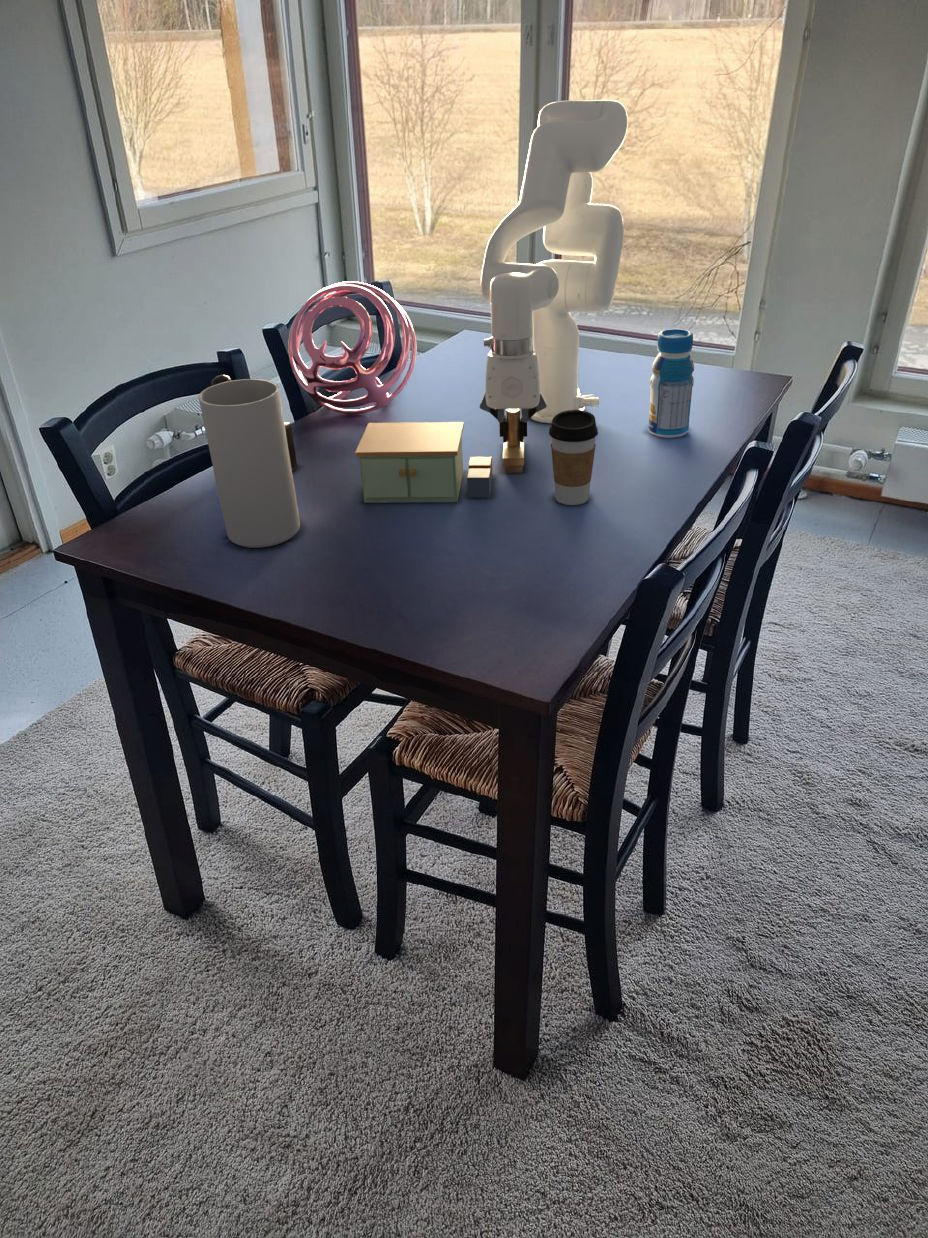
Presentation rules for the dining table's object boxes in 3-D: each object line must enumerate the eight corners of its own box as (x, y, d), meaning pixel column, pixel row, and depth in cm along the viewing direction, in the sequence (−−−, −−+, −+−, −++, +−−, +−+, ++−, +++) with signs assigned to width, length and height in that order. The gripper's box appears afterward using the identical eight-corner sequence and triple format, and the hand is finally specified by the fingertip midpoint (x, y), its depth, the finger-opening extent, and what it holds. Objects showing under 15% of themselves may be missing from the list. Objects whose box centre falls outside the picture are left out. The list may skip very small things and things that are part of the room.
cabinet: (466, 471, 179) (463, 421, 173) (459, 505, 166) (456, 453, 161) (373, 471, 181) (368, 422, 175) (360, 505, 168) (354, 454, 163)
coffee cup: (600, 490, 169) (603, 411, 161) (589, 510, 162) (592, 429, 154) (555, 485, 172) (555, 407, 163) (543, 505, 165) (543, 424, 157)
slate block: (470, 488, 172) (491, 488, 172) (467, 497, 169) (489, 497, 169) (469, 468, 170) (491, 468, 170) (466, 477, 167) (489, 477, 166)
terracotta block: (471, 476, 177) (492, 476, 176) (469, 485, 173) (490, 485, 173) (470, 456, 175) (491, 456, 174) (468, 465, 171) (490, 465, 171)
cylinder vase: (267, 556, 154) (240, 410, 140) (212, 539, 160) (181, 398, 146) (315, 525, 163) (294, 385, 149) (262, 510, 168) (237, 374, 155)
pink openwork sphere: (335, 292, 220) (296, 245, 194) (445, 327, 216) (419, 283, 189) (296, 405, 222) (251, 373, 195) (404, 442, 217) (373, 414, 190)
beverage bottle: (671, 442, 186) (679, 342, 175) (638, 431, 191) (644, 333, 181) (697, 430, 190) (707, 332, 180) (664, 420, 196) (671, 324, 185)
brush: (524, 445, 188) (523, 397, 183) (524, 472, 177) (523, 422, 172) (504, 446, 188) (503, 398, 183) (503, 472, 177) (502, 422, 172)
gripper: (466, 351, 168) (470, 447, 178) (556, 350, 167) (555, 447, 177) (469, 339, 175) (473, 433, 185) (556, 338, 173) (555, 432, 183)
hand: (513, 439), depth 181 cm, fingers closed on brush, 2 cm apart
